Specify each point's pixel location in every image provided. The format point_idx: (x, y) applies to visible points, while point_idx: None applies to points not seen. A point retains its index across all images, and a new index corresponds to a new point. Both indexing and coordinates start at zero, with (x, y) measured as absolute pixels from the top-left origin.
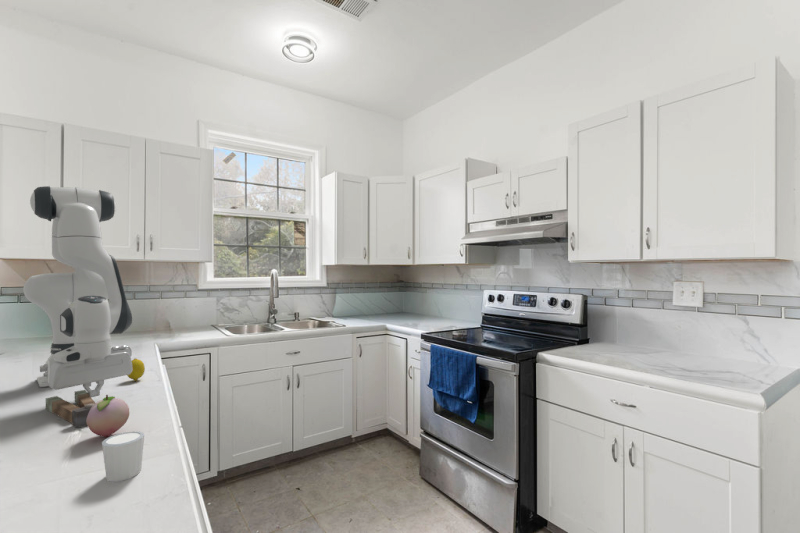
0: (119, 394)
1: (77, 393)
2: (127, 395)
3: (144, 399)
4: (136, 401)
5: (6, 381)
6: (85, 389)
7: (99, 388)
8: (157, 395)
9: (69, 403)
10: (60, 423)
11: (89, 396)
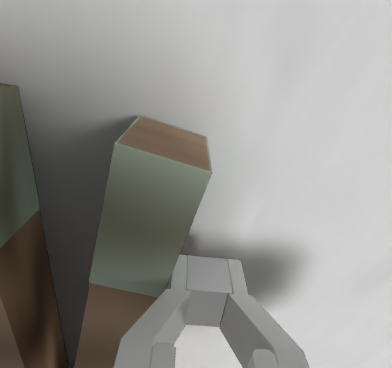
0: (388, 206)
1: (107, 243)
2: (372, 264)
3: (325, 364)
4: None
5: None
6: (152, 304)
7: (237, 342)
8: (387, 363)
9: (16, 365)
10: None
11: None
